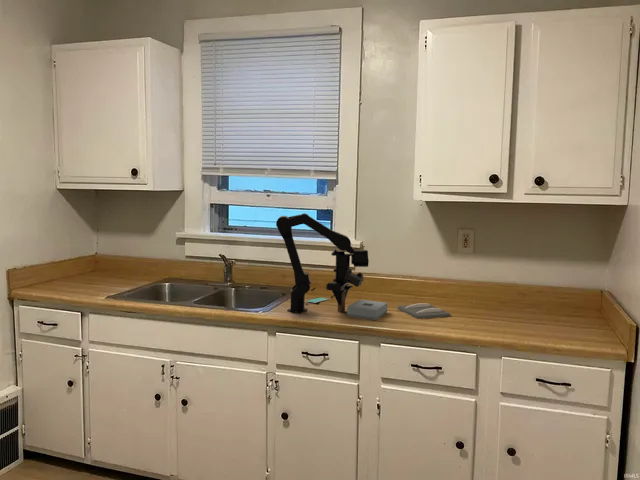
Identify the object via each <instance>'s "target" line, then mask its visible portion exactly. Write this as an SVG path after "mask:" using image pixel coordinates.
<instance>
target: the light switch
mask: <svg viewBox="0 0 640 480" xmlns="http://www.w3.org/2000/svg"><path fill="white" fill-rule="evenodd" d="M397 310H399V311H401V312H403V313H405V314H407V315H409V316H411V317H413V318H415V319H417V320H424V319H423V318H426V319H435V318H434V317H439V318H447V317H446V316H450V317H451V313H450V312H448V311H446V310H443V308H438V307H436V306H434V305H431V304H430V303H425V302H424V303H422V302H420V303H419V302H418V303H414V304H406V305H397Z"/></svg>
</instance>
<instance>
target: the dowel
mask: <svg viewBox="0 0 640 480" xmlns="http://www.w3.org/2000/svg"><path fill="white" fill-rule="evenodd" d="M345 294H346V291H345V292H344V293H343V298H342V304H341V305H338V304H337V313H345V312H346V300H345Z"/></svg>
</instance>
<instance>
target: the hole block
mask: <svg viewBox="0 0 640 480" xmlns="http://www.w3.org/2000/svg"><path fill="white" fill-rule="evenodd" d="M346 311H347V312H346V317H350V318H359V319H365V320H372V321H377V320H379V319H380V318H381V317H383V316H384V315H385V314H387V313H388V302H384V301H374V300H366V299H359V300H357V301H355V302H353V303H350V304H349V305H348V306H347V310H346Z"/></svg>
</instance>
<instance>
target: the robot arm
mask: <svg viewBox="0 0 640 480" xmlns="http://www.w3.org/2000/svg"><path fill="white" fill-rule="evenodd" d="M275 224H276V225H275V226H276V228H277V230H278V232H279V234H280V236H281V238H282V240H283V241H284V245H285V247H286V252H287V254H288V257H289V260H290V263H291V264H290V265H291V267H292V270H293V274H294V285H293V286H292V287H291V288H290V308H287V310H286V311H287V312H292V313H299V314H302V313H304V312H306V311H308V308H307V307H306V306H305V305H306V300H305V299H306V294H307V293H308V292H309V291H310V290H311V284H312V280H311V278H310V277H309V276H310V275H309V271H306V272H305V270H304V268H303V265H302V263H301V260H300V255H299V253H298V250H297V246H296V242H295V240H294V237H293V227H296V226H301V225H305V226H307V227H308V228H310V229H312V230H313V231H314V232H316V233H318V234H319V235H321V236H323V237H324V238H326V239H327V240H329V241H330V242H331V243H332V244H333V246H335V247H336V248H338V250H337V249H336V248H335V249H334V250H333V251H332V252H331V253H330V255H331V257H333V256H335V268H333V272H335V273H334V277H335V278H333V279H332V280H333V281H329V282H328V283H327V284H325V285H326V286H325V290H327V291H332V293H333V295H334V297H335V300H336V302H337V306H338V305H341V304H342V298H343V293H344V292H345V291H346V294H345V301H346V299H347V296H348V293H349V291H350V290H351V289H353V287H356V288H357V287H358V288H359V287H361V285H362V283H363V281H365V279H364V274H363V273H362V272H358V273H353V272H352V271H353V270H352V268H350V266H351V265H353V267H355V268H357V267H359V268H368V267H369V264H370V263H369V261H370V260H369V251H368V250H367V249H362V250H358V249H357V250H355V248H354V247H352V243H351V239H350V238H349V237H348V236H347V235H345V234H343V233H340V232H337V231H336V230H333V229H330V228H329V227H327V226H326V225H325V224H323V223H321V222H320V221H317V220H316V219H314V218H313V217H312V216H310V215H309V214H307V213H305V212H304V213H301V214H296V215H292V216H287V215H280V216H279V217H278V218H277V220H276V223H275ZM339 250H340V251H339ZM345 251H346V252H347V253H345ZM350 284H351V285H350Z"/></svg>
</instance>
